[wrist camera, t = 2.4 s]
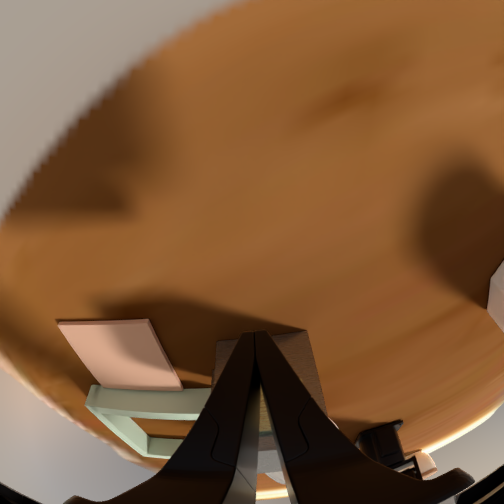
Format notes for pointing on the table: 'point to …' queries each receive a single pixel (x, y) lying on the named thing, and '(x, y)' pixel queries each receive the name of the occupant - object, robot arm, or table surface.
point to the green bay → (145, 414)
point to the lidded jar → (423, 464)
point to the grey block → (302, 363)
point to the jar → (497, 297)
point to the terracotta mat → (122, 354)
